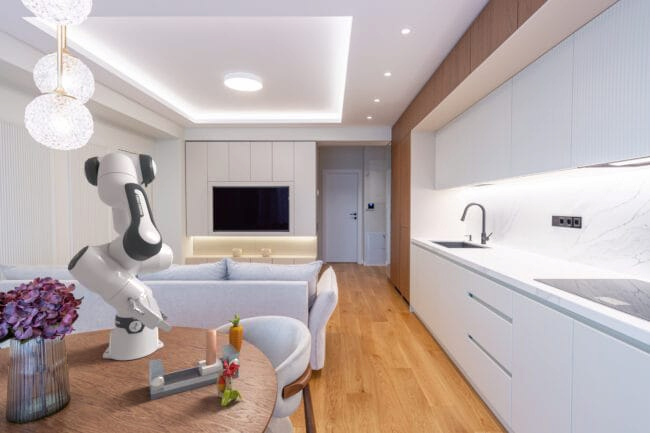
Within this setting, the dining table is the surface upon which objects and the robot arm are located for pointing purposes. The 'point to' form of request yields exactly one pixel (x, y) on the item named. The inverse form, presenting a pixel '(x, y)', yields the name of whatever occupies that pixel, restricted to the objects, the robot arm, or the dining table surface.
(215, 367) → the carriage
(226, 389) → the decorative toy figure
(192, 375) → the rail track
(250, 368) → the dining table surface
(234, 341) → the carrot
